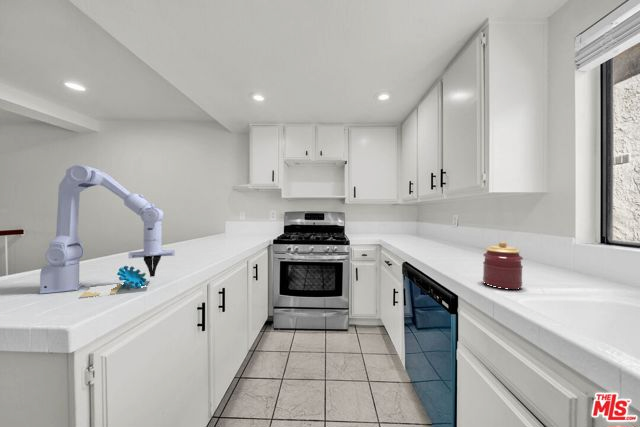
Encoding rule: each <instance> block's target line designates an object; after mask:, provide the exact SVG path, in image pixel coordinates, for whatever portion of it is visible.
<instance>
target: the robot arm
mask: <svg viewBox="0 0 640 427" xmlns="http://www.w3.org/2000/svg"><path fill="white" fill-rule="evenodd" d="M94 186H95V187H96V186H102V187H104V188H105V189H107V190H108V191H110V192H111V193H113V194H114V195H116V196H118V197H119V198H120V199H122V200H123V204H124V206H125V207H127V208H128V209H129V210H130V211H132V212H133V213H135V214H136V215H138V216H139V217H140V219H141V221H142V222H143V251H133V252H132V251H130V252H128V259H138V258H143V261H144V263H145V265H146V267H147V270H148V273H149V277H150V278H155V274H156V270H157V266H158V265H159V263H160V261H161V258H162V257H168V256H170V257H171V256H172V257H174V256H175V253H176V252H175V249H173V250H171V249H169V250H165V249H162V248H163V247H162V239H163V238H162V236H163V235H162V234H163V233H162V221H163V220H164V218H165V214H164V212H163V210H162V209H161V208H160V207H155V206H156V205H155V204H154V203H150V202H149V201H148V200H146V199H145V196H144V195H143V194H138V193H136V192H135V193H131V192H130V191H129V190H128V189H126V188H125V187H124V186H123V185H121V184H120V183H119V182H117V181H116V180H115V179H114V177H112V176H110V175H109V174H107V173H106V172H104V171H103V170H101V169H100V168H98V167H91V166H88V165H85V164H83V163H82V164H81V163H80V164H79V163H78V164H74V165H72V166H70V167H68V168H66V170H65V175H64V177H63V178H62V180H61V181H60V183H59V184H58V194H57V214H56V233H55V234H56V235H55V237H54V238H53V239H52V240H51V241H50V242H49V244H48V245H49V246H48V249H47V251H46V252H45V254H44V255H45V256H44V257H45V260H46V261H47V263H49V264H45V265H43V266H42V268H41V270H40V275H39V278H40V280H39V285H40V286H39V289H40V290H39V291H40V292H38V293H39V295H41V294H49V293H51V294H52V293H61V292H62V293H63V292H71V291H77V290H79V289H80V288H81V287H82V286H83V285H84V283H82V282H81V283H80V261H81V260H80V259H81V258H82V257H83V256H84V254H85V249H84V247H83V245H82V239H81V238H80V237H79V236H78V231H79V227H78V226H79V213H80V197H81V196H80V195H81V192H83V191H85V190H86V189H88V188H90V187H94Z"/></svg>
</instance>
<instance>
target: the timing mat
mask: <svg viewBox="0 0 640 427" xmlns="http://www.w3.org/2000/svg"><path fill="white" fill-rule="evenodd" d="M150 282H151V281H150V280H146V281H145V282H144V283H145V285H146V286H148V287H149V285H148V284H150ZM118 284H119V285H117V287H115V288H113V289H111V292H110V295H109V296H115V294H116V295H123V294H133V293H139V292H140V293H141V292H142V293H143V292H147V290H148V287H143V288H141V287H140V288H137V287H136V286H137V284H135V287H134V288H131V287H130V285H131V284H132V283H128V284H127V285H126V286H125V287H122V284H120V283H118ZM145 285H144V286H145ZM99 295H100V293H96V292H95V293H91V292H86V291H85V292H83V293H82V295H80V296H79V297H78V300H80V299H89V298H94V296H95V298H97V297H96V296H98V297H100V296H99ZM88 297H89V298H88Z"/></svg>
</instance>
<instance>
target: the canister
mask: <svg viewBox="0 0 640 427" xmlns="http://www.w3.org/2000/svg"><path fill="white" fill-rule="evenodd" d="M485 250H486V252H485V253H483V254H482V255H483V258H484V261H483V262H482V264H483V272H482V273H483V276H482V281H483V282H485V283H486V284H489V285H492V286H496V287H501V288H508V289H518V288H521V289H522V286H523V267H524V266H523V265H522V260H523V259H524V257H523V256H521V255H520V253H521V250H518V249H517V248H516V247H513V246H508V244H507V242H506V241H504V240H503V241H500V242H499V243H498V245H489V247H486V248H485Z"/></svg>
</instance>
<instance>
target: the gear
mask: <svg viewBox="0 0 640 427" xmlns="http://www.w3.org/2000/svg"><path fill="white" fill-rule="evenodd" d="M140 272H141V269H139V268H138V269H136V270H135V266H130V267H129V266H127V265H124V266H122V267H120V268H119V269H118V271H117V274H116V275H118V276H119V277H118V280H119V281H124V282H123V283H124V284H123V285H122V287H125V286H126V285H127V284H128V283H132V284H131V285H130V287H131V288H134V287H135V284H137V286H136V287H137V288H140V287H141V286H144V285H145V283H144V282H145V281H147V278H145V276H146V275H147V272H142V273H140ZM140 284H141V285H140Z"/></svg>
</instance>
